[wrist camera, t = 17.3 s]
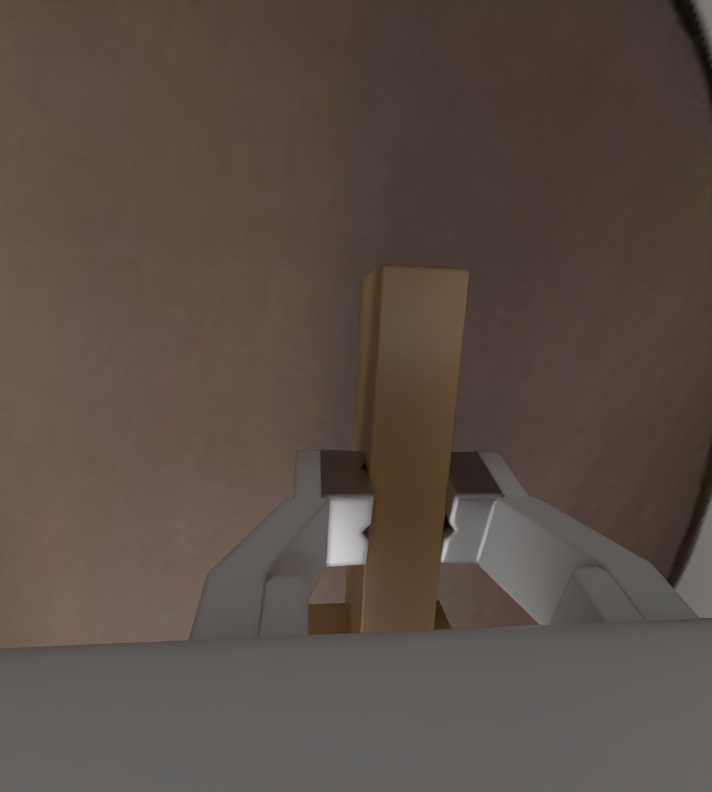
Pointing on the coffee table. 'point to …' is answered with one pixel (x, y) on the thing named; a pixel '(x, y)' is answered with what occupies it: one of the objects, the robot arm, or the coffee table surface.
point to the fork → (403, 447)
